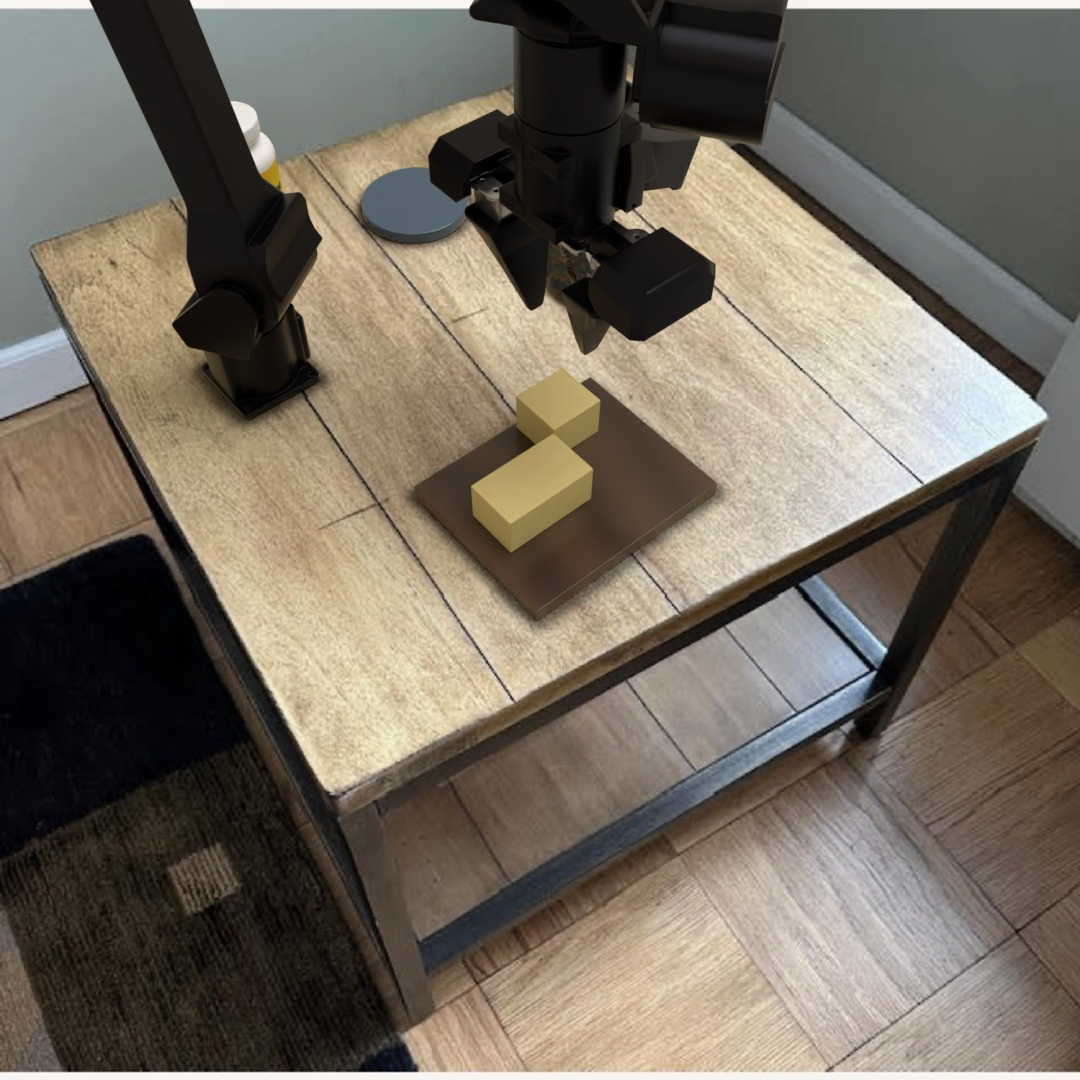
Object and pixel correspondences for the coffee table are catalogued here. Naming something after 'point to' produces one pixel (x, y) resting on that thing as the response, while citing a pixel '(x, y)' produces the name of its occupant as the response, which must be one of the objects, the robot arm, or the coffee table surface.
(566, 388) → the butter pat
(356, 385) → the coffee table surface
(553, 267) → the knife
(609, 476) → the board
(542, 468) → the butter stick
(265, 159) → the pill bottle
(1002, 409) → the coffee table surface
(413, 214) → the plate
